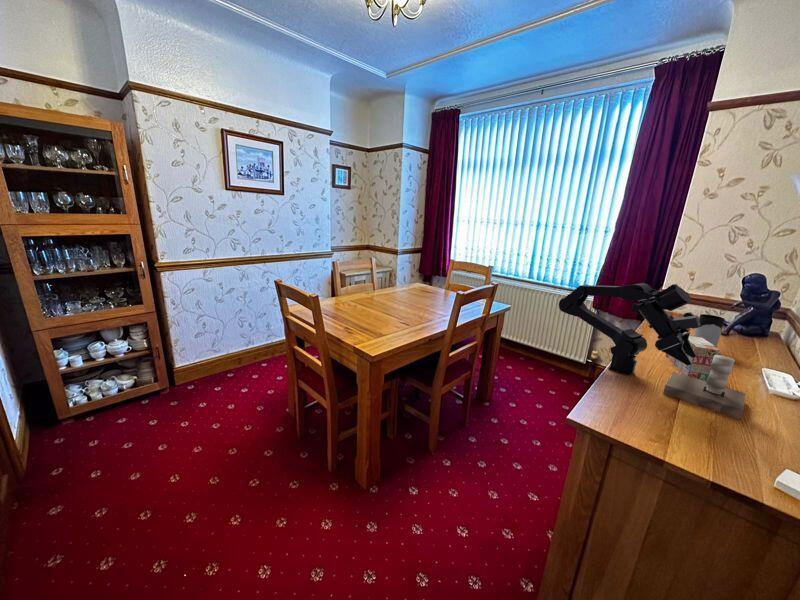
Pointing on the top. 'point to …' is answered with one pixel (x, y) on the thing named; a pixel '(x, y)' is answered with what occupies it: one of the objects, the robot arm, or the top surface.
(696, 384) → the gray slotted board
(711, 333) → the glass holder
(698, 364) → the stack of blocks
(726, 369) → the ash peg
